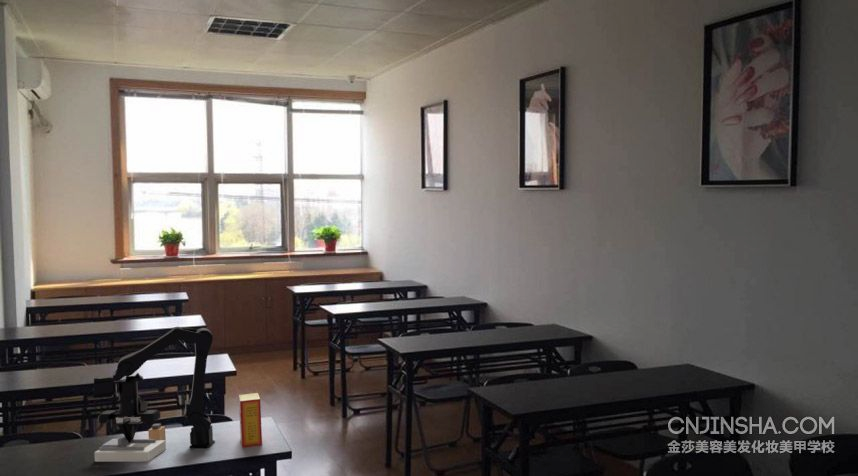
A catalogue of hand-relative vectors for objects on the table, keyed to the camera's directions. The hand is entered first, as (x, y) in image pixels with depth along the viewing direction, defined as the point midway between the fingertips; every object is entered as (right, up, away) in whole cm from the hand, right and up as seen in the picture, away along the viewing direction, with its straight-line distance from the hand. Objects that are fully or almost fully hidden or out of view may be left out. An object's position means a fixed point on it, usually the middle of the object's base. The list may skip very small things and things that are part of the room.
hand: (130, 442), depth 231 cm
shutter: (-4, -1, +1) cm, 5 cm away
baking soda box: (+37, -3, +10) cm, 39 cm away
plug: (+5, -4, +10) cm, 12 cm away
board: (0, -4, 0) cm, 4 cm away
